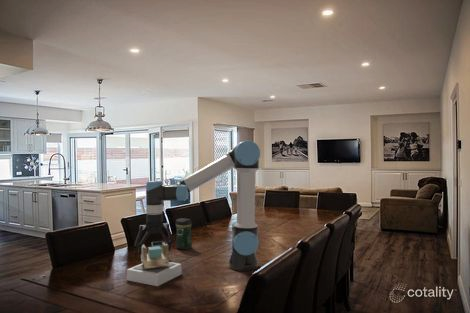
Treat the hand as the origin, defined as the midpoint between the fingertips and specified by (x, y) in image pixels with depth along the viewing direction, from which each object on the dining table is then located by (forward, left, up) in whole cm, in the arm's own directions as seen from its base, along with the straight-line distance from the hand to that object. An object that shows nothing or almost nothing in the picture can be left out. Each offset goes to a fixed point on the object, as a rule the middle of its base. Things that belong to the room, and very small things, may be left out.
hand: (154, 259), depth 170 cm
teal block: (0, 0, +1) cm, 1 cm away
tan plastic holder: (0, 0, -2) cm, 2 cm away
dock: (0, 0, -8) cm, 8 cm away
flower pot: (+17, -25, -9) cm, 31 cm away
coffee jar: (+19, -51, -9) cm, 55 cm away
